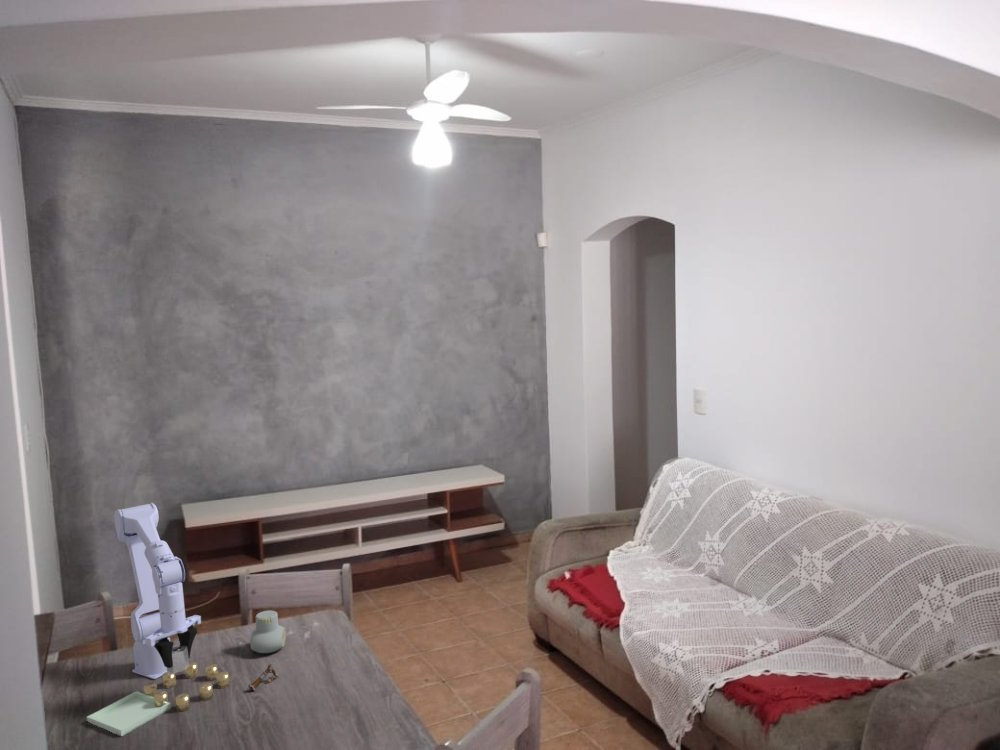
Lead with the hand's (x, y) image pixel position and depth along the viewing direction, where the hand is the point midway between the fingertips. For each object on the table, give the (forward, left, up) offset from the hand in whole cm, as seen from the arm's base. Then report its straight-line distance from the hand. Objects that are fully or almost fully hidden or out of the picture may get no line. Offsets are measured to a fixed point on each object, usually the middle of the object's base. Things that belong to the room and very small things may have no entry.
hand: (177, 662), depth 196 cm
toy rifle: (+15, +13, -9) cm, 22 cm away
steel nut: (0, 0, -2) cm, 2 cm away
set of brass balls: (0, +2, -8) cm, 9 cm away
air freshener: (+1, +28, -9) cm, 29 cm away
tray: (-3, -12, -8) cm, 15 cm away
